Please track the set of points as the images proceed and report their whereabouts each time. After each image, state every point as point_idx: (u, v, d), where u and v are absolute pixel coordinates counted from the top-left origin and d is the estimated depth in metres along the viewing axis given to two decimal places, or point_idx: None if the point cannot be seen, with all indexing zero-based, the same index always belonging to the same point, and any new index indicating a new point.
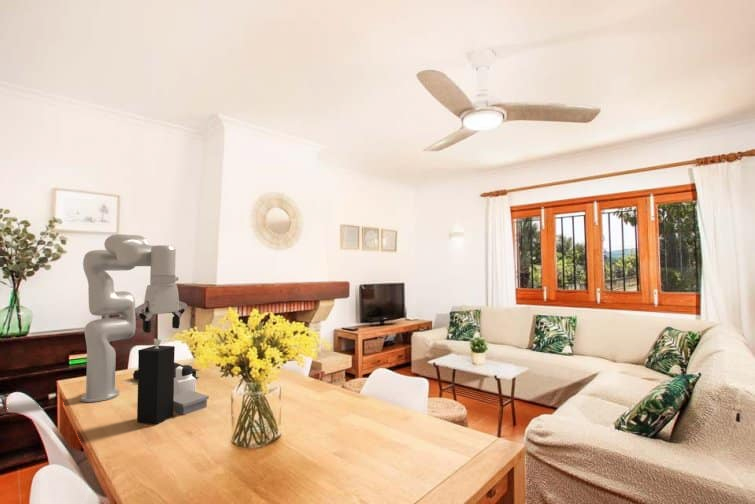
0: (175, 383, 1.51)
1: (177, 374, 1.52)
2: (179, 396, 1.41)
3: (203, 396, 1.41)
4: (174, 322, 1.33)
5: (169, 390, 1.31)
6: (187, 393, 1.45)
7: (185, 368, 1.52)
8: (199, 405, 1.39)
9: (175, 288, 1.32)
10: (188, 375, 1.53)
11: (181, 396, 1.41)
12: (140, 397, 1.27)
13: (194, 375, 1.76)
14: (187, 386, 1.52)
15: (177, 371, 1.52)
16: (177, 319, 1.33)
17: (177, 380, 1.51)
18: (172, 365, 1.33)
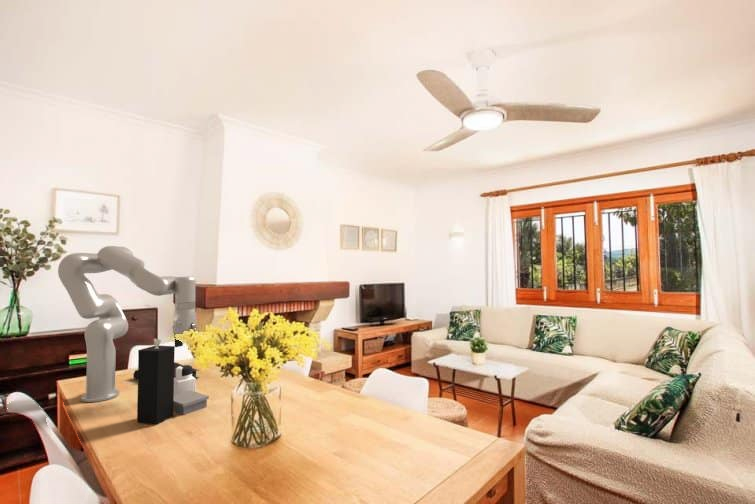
0: (175, 383, 1.51)
1: (177, 374, 1.52)
2: (179, 396, 1.41)
3: (203, 396, 1.41)
4: (179, 341, 1.57)
5: (169, 390, 1.31)
6: (187, 393, 1.45)
7: (185, 368, 1.52)
8: (199, 405, 1.39)
9: None
10: (188, 375, 1.53)
11: (181, 396, 1.41)
12: (140, 397, 1.27)
13: (194, 375, 1.76)
14: (187, 386, 1.52)
15: (177, 371, 1.52)
16: None
17: (177, 380, 1.51)
18: (172, 365, 1.33)
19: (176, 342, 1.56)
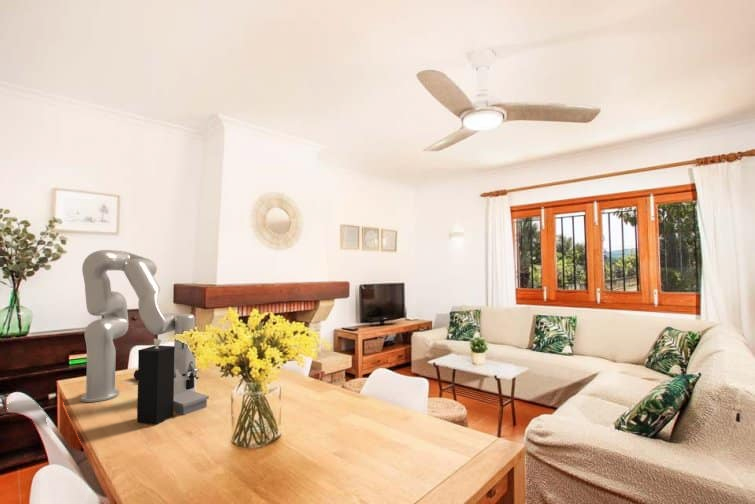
0: (175, 383, 1.51)
1: (177, 374, 1.52)
2: (179, 396, 1.41)
3: (203, 396, 1.41)
4: None
5: (169, 390, 1.31)
6: (187, 393, 1.45)
7: None
8: (199, 405, 1.39)
9: None
10: None
11: (181, 396, 1.41)
12: (140, 397, 1.27)
13: None
14: None
15: (177, 371, 1.52)
16: None
17: (177, 380, 1.51)
18: (172, 365, 1.33)
19: None
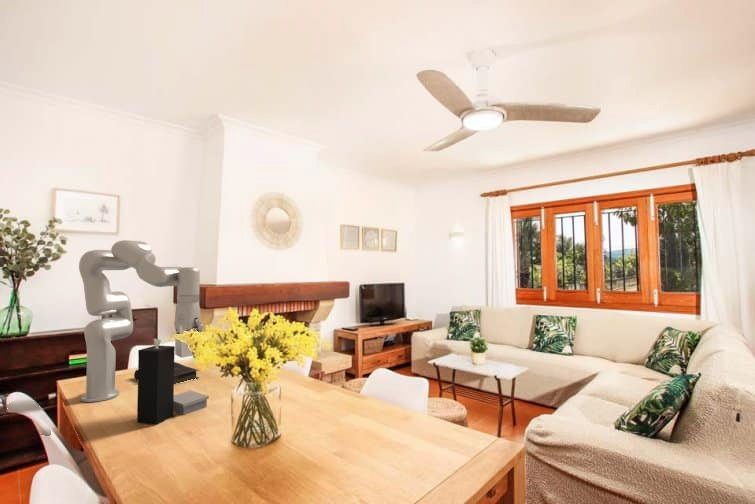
0: (179, 340, 1.39)
1: (181, 331, 1.40)
2: (179, 396, 1.41)
3: (203, 396, 1.41)
4: None
5: (169, 390, 1.31)
6: (187, 393, 1.45)
7: None
8: (199, 405, 1.39)
9: None
10: None
11: (181, 396, 1.41)
12: (140, 397, 1.27)
13: (194, 375, 1.76)
14: None
15: (181, 327, 1.40)
16: None
17: None
18: (172, 365, 1.33)
19: None
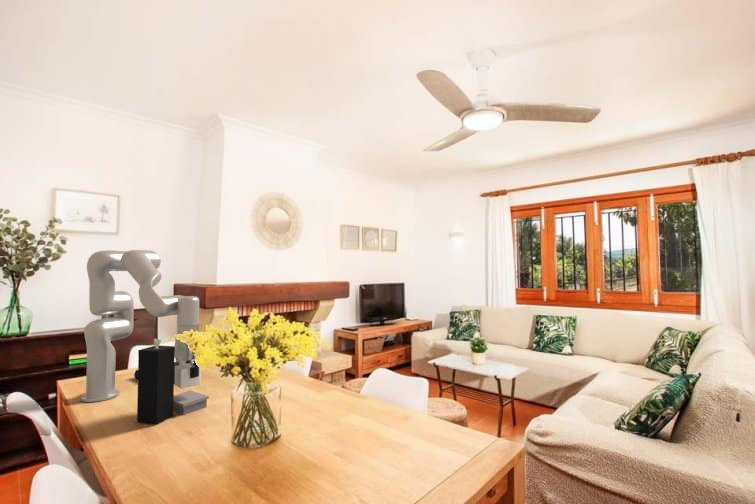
0: (178, 371, 1.38)
1: (180, 361, 1.39)
2: (179, 396, 1.41)
3: (203, 396, 1.41)
4: None
5: (169, 390, 1.31)
6: (187, 393, 1.45)
7: None
8: (199, 405, 1.39)
9: None
10: None
11: (181, 396, 1.41)
12: (140, 397, 1.27)
13: None
14: None
15: (180, 358, 1.39)
16: None
17: (181, 368, 1.38)
18: (172, 365, 1.33)
19: None
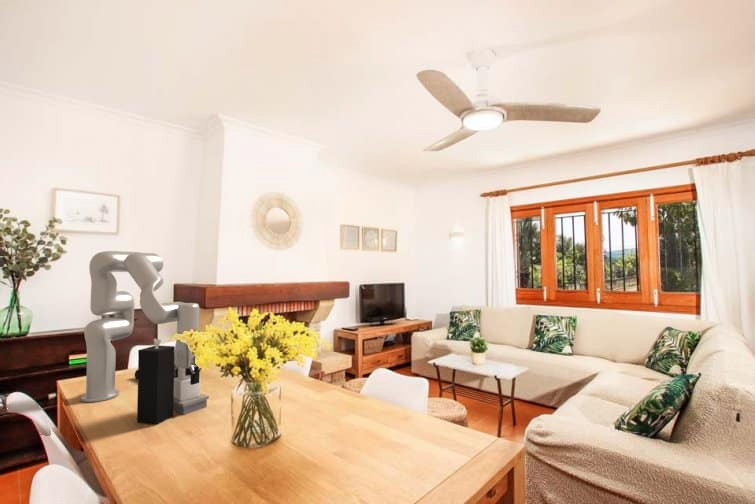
0: (178, 383, 1.38)
1: (180, 373, 1.39)
2: None
3: (203, 396, 1.41)
4: None
5: (169, 390, 1.31)
6: None
7: (189, 367, 1.40)
8: (199, 405, 1.39)
9: None
10: None
11: None
12: (140, 397, 1.27)
13: None
14: (191, 387, 1.39)
15: (180, 370, 1.39)
16: None
17: (180, 380, 1.38)
18: (172, 365, 1.33)
19: (177, 375, 1.42)
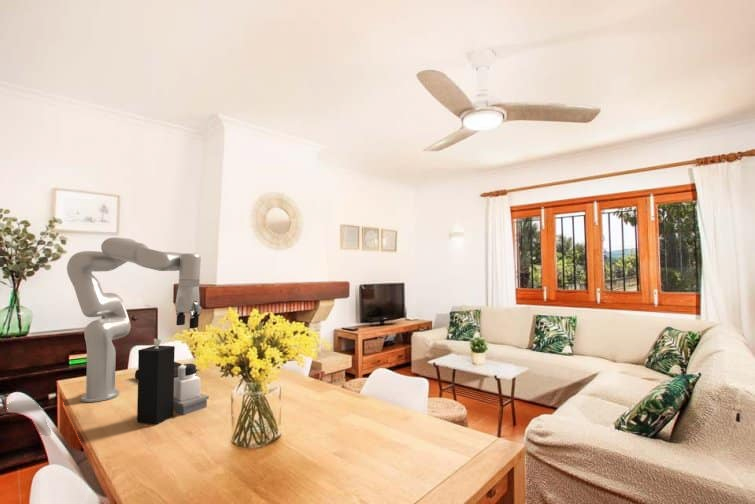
0: (178, 383, 1.38)
1: (180, 373, 1.39)
2: None
3: (203, 396, 1.41)
4: (181, 320, 1.53)
5: (169, 390, 1.31)
6: None
7: (189, 367, 1.40)
8: (199, 405, 1.39)
9: None
10: (192, 374, 1.40)
11: None
12: (140, 397, 1.27)
13: None
14: (191, 387, 1.39)
15: (180, 370, 1.39)
16: (184, 316, 1.54)
17: (180, 380, 1.38)
18: (172, 365, 1.33)
19: (178, 320, 1.52)
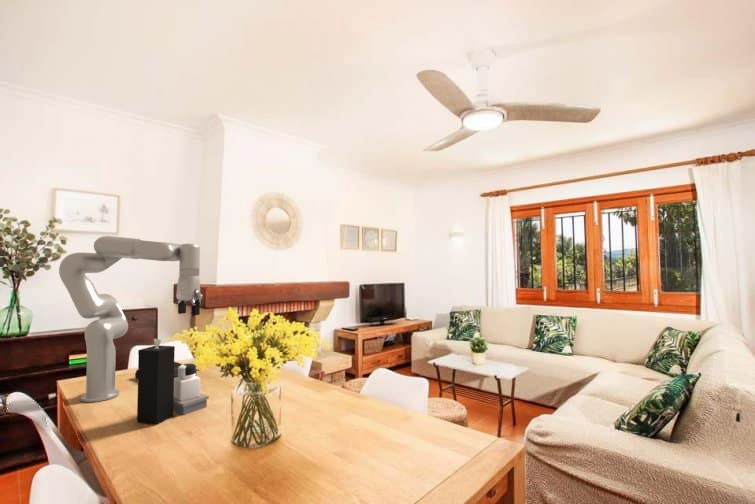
0: (178, 383, 1.38)
1: (180, 373, 1.39)
2: None
3: (203, 396, 1.41)
4: (182, 308, 1.58)
5: (169, 390, 1.31)
6: None
7: (189, 367, 1.40)
8: (199, 405, 1.39)
9: None
10: (192, 374, 1.40)
11: None
12: (140, 397, 1.27)
13: None
14: (191, 387, 1.39)
15: (180, 370, 1.39)
16: (185, 305, 1.59)
17: (180, 380, 1.38)
18: (172, 365, 1.33)
19: (179, 309, 1.57)
